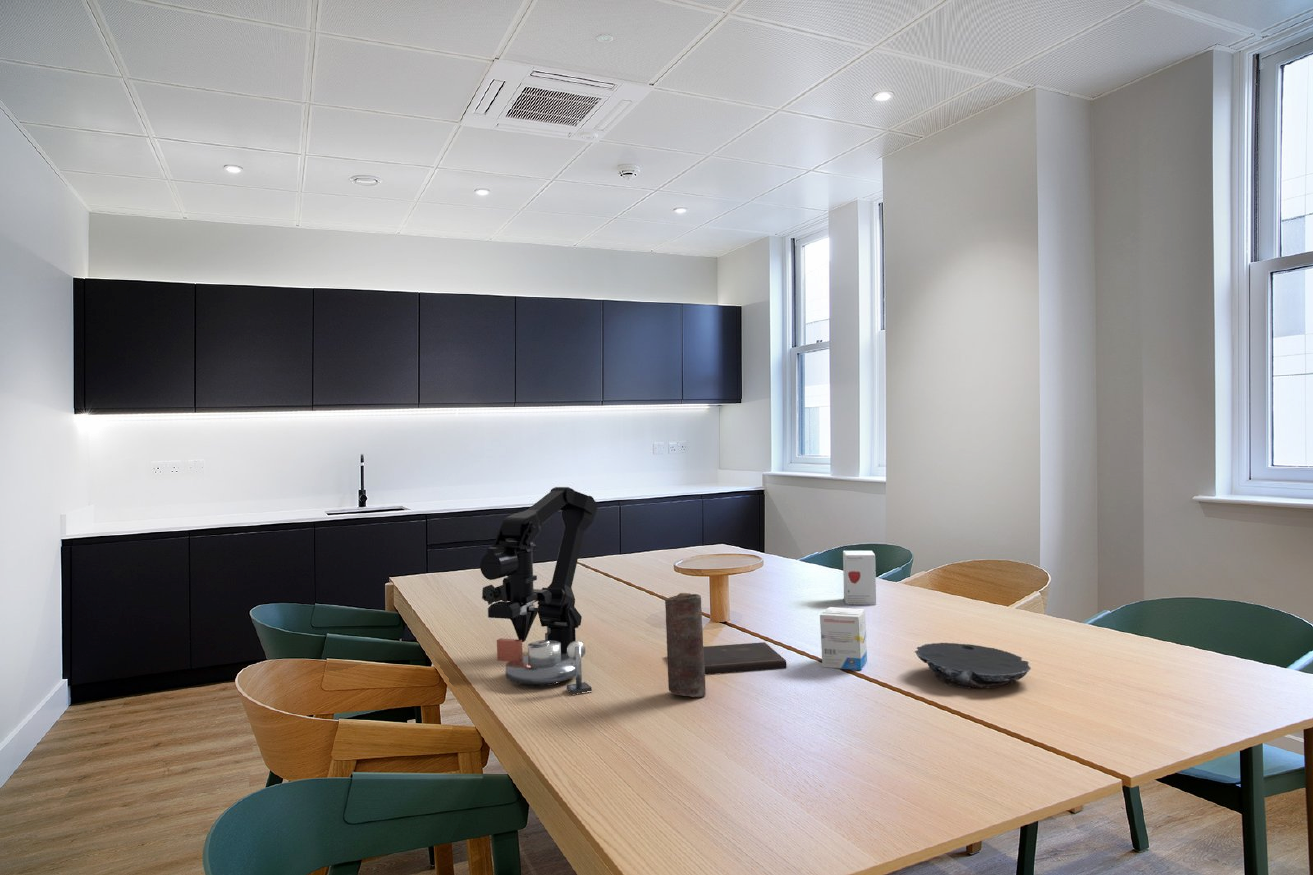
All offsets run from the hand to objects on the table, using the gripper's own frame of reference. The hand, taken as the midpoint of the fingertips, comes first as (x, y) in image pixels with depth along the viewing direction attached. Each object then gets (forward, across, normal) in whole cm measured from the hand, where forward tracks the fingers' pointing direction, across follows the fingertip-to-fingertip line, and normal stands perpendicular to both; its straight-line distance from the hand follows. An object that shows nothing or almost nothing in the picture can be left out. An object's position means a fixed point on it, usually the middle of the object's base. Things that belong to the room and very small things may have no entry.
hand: (522, 641), depth 179 cm
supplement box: (+7, -89, +64) cm, 110 cm away
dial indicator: (+6, +10, +19) cm, 22 cm away
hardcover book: (+7, -17, +43) cm, 46 cm away
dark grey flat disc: (+7, -19, +94) cm, 96 cm away
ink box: (+6, -22, +68) cm, 72 cm away
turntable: (+5, +5, +8) cm, 11 cm away
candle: (+6, +7, +41) cm, 43 cm away
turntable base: (+6, +5, +8) cm, 12 cm away
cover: (+3, +5, +8) cm, 10 cm away
